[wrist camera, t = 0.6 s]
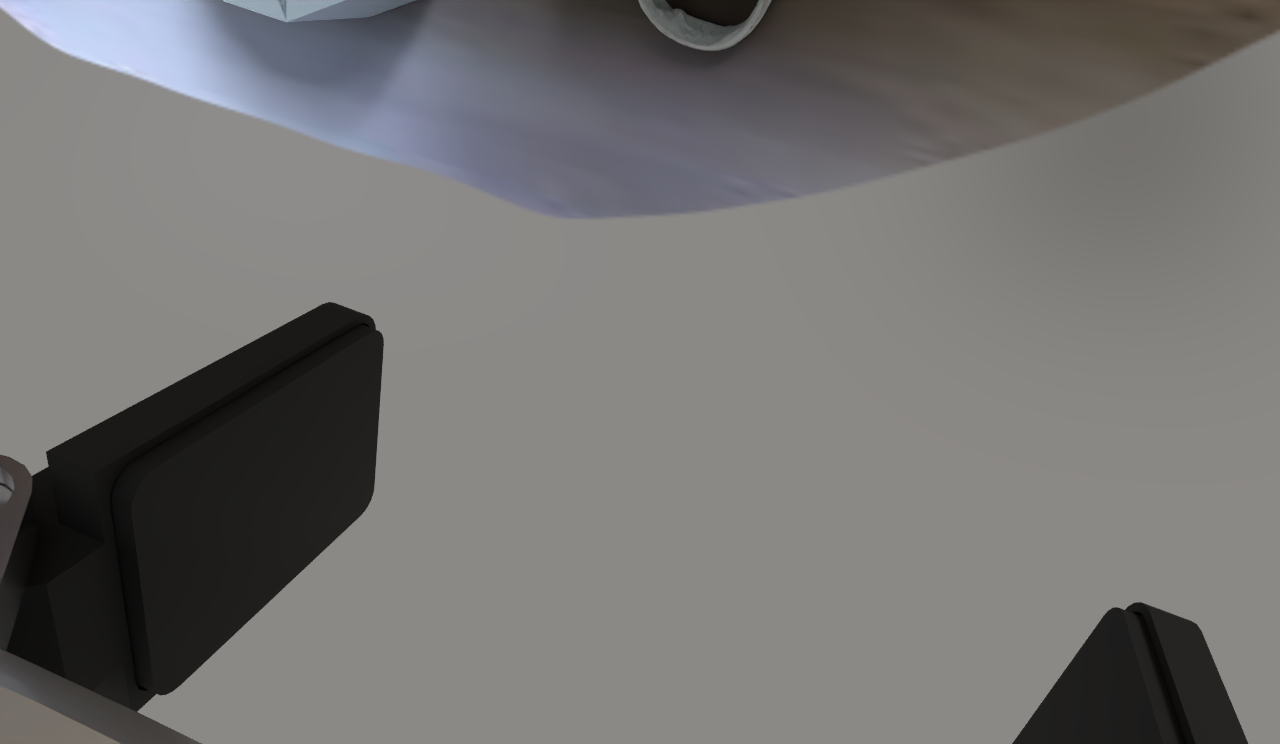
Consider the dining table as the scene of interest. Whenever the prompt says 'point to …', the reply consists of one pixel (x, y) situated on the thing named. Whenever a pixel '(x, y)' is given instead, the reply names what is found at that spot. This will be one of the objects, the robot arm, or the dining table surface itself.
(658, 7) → the ceramic mug
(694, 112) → the dining table surface
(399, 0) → the slate bowl
